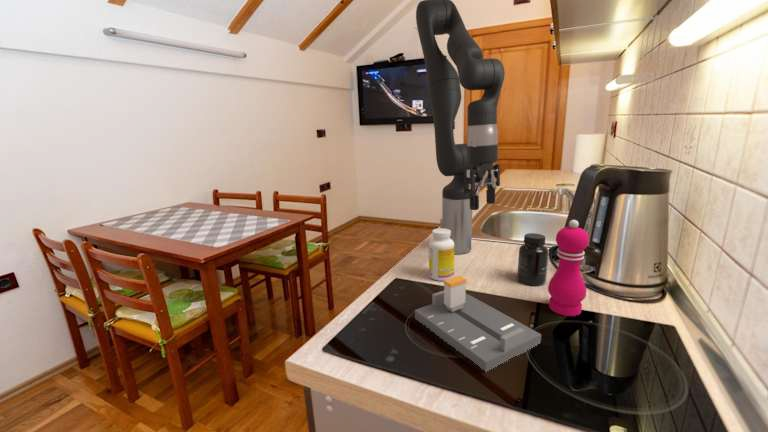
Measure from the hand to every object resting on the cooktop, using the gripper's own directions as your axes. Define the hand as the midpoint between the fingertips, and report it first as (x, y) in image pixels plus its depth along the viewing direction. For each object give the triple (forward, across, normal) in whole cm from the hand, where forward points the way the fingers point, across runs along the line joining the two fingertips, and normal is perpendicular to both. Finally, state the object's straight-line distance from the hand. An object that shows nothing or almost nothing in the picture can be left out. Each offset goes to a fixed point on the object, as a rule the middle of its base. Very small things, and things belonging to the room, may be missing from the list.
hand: (482, 206), depth 93 cm
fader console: (+19, +27, +13) cm, 35 cm away
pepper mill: (+20, +7, +23) cm, 31 cm away
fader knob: (+16, +25, +7) cm, 31 cm away
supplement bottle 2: (+19, -2, +12) cm, 23 cm away
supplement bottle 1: (+18, +10, -7) cm, 22 cm away
